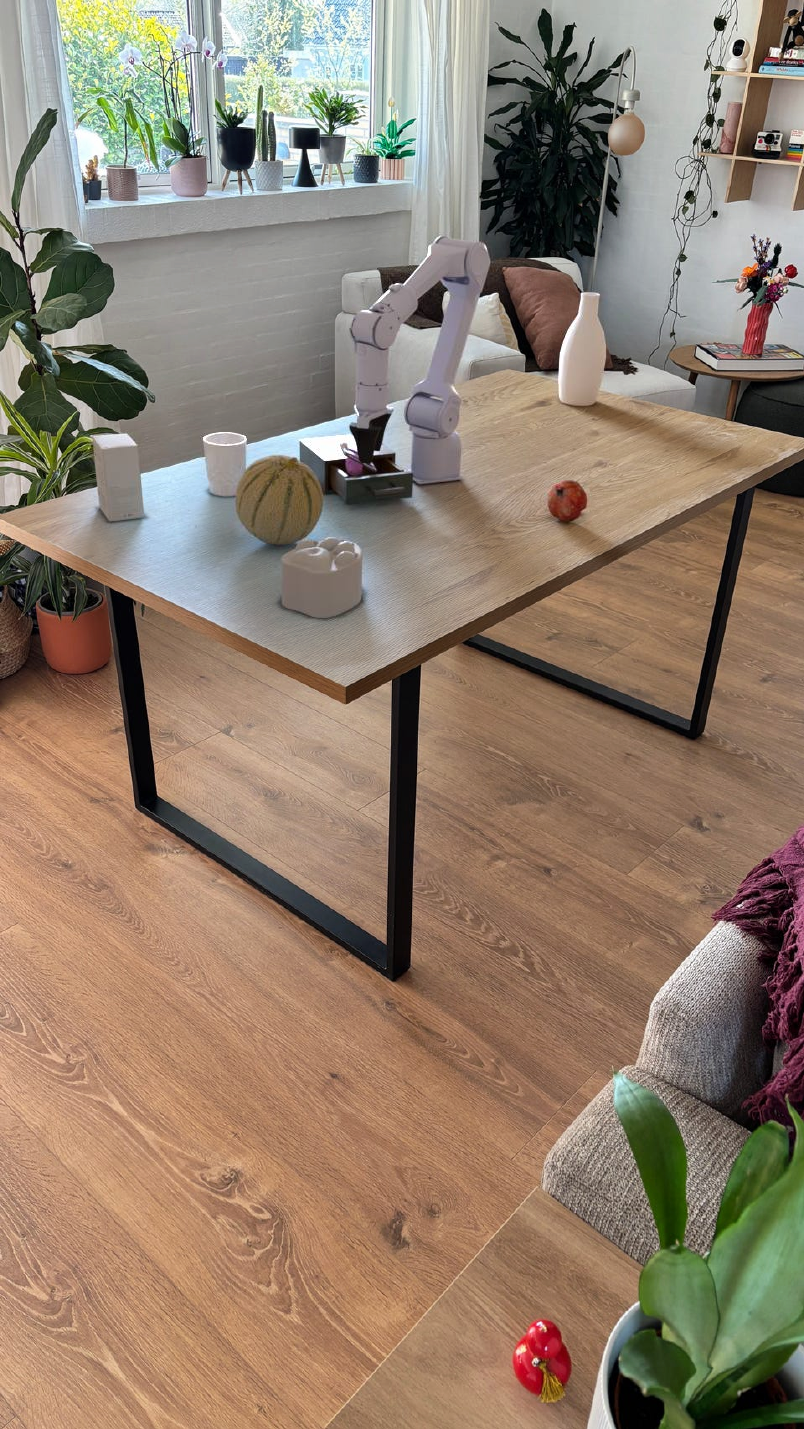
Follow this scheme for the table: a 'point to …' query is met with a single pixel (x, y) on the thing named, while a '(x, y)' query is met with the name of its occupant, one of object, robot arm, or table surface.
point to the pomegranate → (567, 500)
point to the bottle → (583, 355)
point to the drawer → (371, 482)
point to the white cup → (224, 462)
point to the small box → (118, 476)
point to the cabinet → (331, 456)
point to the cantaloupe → (279, 499)
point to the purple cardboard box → (354, 461)
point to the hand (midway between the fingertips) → (370, 456)
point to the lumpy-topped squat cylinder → (322, 577)
